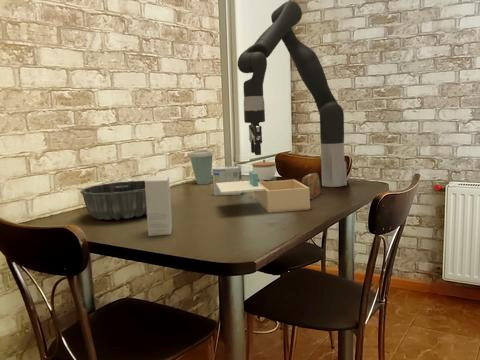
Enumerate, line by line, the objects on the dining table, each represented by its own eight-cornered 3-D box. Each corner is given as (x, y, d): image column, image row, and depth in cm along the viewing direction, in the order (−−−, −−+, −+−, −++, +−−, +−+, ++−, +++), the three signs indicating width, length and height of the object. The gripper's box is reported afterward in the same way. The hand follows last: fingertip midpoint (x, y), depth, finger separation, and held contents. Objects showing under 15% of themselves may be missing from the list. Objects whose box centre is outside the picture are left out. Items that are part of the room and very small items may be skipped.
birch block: (263, 196, 183) (263, 180, 182) (266, 198, 179) (265, 182, 178) (252, 197, 182) (251, 181, 182) (254, 199, 178) (253, 183, 177)
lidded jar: (251, 182, 218) (250, 161, 216) (254, 178, 228) (253, 158, 227) (275, 181, 216) (274, 160, 214) (277, 177, 226) (276, 157, 225)
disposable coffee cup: (214, 184, 217) (211, 151, 215) (189, 185, 217) (187, 152, 215) (215, 180, 227) (213, 148, 225) (192, 182, 228) (190, 150, 225)
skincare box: (151, 229, 142) (146, 176, 139) (173, 227, 142) (169, 174, 140) (148, 236, 133) (143, 180, 131) (172, 234, 134) (167, 178, 132)
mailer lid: (254, 181, 171) (253, 168, 171) (264, 190, 153) (263, 176, 152) (216, 184, 169) (215, 171, 169) (221, 193, 151) (220, 179, 150)
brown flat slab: (309, 201, 169) (308, 177, 167) (300, 201, 170) (299, 177, 169) (321, 193, 182) (320, 171, 181) (313, 193, 183) (312, 171, 182)
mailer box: (295, 198, 174) (294, 179, 173) (310, 209, 156) (309, 187, 154) (257, 201, 172) (256, 182, 171) (268, 213, 154) (267, 191, 153)
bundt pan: (81, 213, 171) (78, 185, 170) (155, 203, 180) (153, 177, 179) (85, 229, 147) (82, 196, 145) (171, 217, 156) (168, 186, 154)
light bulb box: (242, 191, 195) (241, 165, 193) (240, 195, 188) (239, 167, 186) (216, 192, 196) (214, 166, 194) (213, 196, 189) (211, 168, 188)
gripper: (241, 109, 182) (243, 152, 185) (246, 109, 169) (248, 156, 171) (261, 108, 183) (262, 151, 186) (268, 108, 169) (269, 155, 172)
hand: (256, 153), depth 178 cm, fingers open, 8 cm apart
